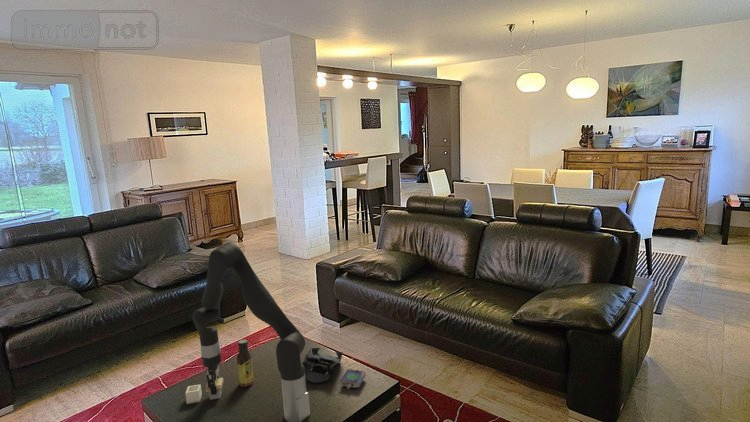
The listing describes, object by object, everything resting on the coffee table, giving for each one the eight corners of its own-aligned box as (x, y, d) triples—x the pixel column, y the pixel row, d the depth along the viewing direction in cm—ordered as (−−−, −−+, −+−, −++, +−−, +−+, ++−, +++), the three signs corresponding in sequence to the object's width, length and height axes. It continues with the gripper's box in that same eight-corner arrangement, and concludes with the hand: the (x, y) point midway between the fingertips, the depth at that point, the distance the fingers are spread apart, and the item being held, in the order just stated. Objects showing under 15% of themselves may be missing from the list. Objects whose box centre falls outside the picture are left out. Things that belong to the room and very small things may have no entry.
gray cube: (221, 392, 181) (220, 384, 181) (219, 398, 178) (218, 389, 177) (211, 394, 181) (210, 385, 180) (209, 399, 177) (208, 390, 176)
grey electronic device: (366, 371, 187) (358, 385, 177) (366, 377, 187) (358, 391, 177) (346, 368, 189) (337, 382, 179) (346, 374, 190) (337, 388, 180)
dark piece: (346, 363, 202) (345, 345, 200) (331, 386, 182) (330, 367, 181) (311, 360, 206) (310, 342, 205) (293, 382, 187) (291, 363, 186)
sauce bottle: (249, 388, 184) (245, 345, 181) (236, 387, 185) (231, 344, 182) (256, 380, 190) (252, 338, 187) (243, 379, 191) (239, 338, 188)
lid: (223, 381, 182) (222, 376, 182) (221, 389, 176) (220, 383, 176) (208, 384, 181) (208, 378, 181) (206, 391, 175) (205, 385, 175)
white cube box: (201, 395, 180) (200, 384, 180) (199, 402, 176) (198, 390, 175) (189, 397, 179) (188, 386, 179) (186, 404, 175) (185, 392, 174)
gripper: (204, 346, 183) (209, 382, 185) (197, 362, 169) (202, 401, 171) (222, 343, 184) (227, 379, 186) (217, 359, 170) (222, 398, 172)
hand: (215, 389), depth 179 cm, fingers closed on lid, 6 cm apart
